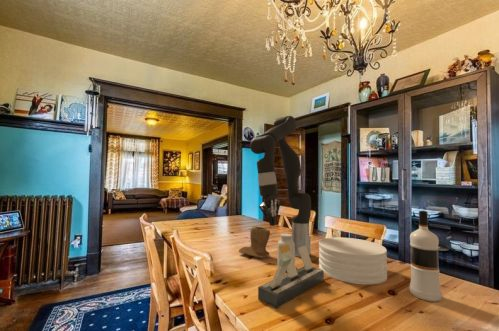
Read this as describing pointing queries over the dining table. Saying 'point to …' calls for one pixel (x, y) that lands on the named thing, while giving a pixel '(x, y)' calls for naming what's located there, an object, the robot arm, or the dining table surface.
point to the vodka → (424, 262)
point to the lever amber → (291, 267)
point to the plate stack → (353, 260)
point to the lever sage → (280, 271)
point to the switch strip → (290, 287)
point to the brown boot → (257, 242)
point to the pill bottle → (285, 240)
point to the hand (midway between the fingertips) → (273, 225)
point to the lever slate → (304, 255)
